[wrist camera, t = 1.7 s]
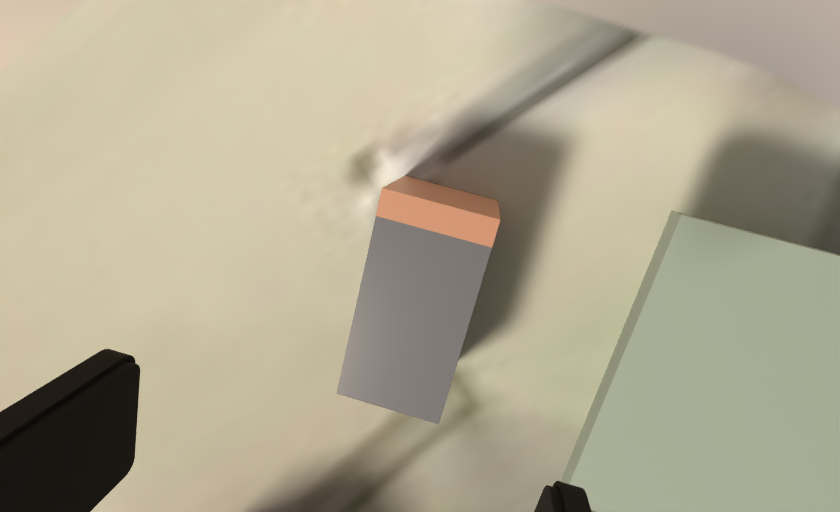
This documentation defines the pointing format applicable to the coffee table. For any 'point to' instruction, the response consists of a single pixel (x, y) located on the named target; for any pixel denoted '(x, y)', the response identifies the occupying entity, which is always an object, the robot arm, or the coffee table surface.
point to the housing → (417, 296)
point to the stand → (720, 381)
